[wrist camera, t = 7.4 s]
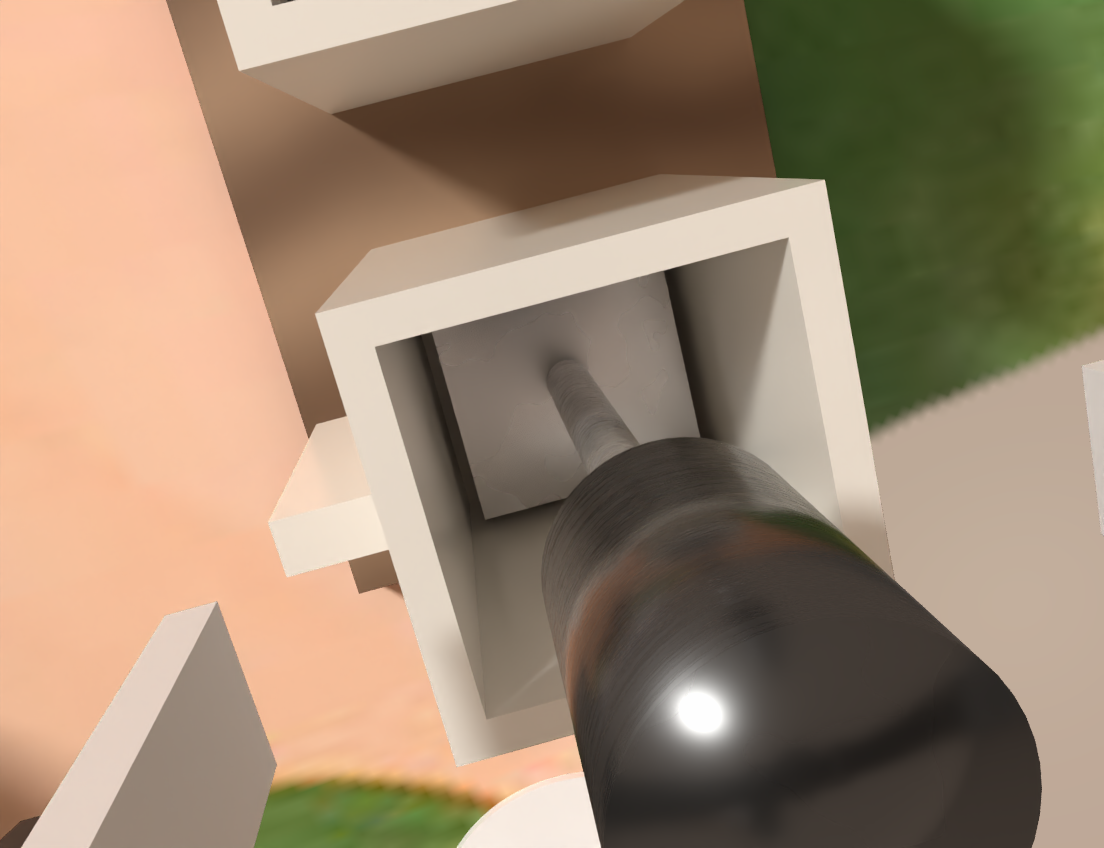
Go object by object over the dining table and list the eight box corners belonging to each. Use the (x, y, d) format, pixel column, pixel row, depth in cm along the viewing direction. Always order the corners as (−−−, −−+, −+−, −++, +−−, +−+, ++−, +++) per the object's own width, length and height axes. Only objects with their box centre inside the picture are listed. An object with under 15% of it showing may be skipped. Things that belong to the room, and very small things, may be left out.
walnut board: (814, 452, 36) (830, 464, 34) (362, 576, 35) (359, 593, 34) (657, -372, 29) (669, -400, 28) (100, -237, 28) (81, -259, 27)
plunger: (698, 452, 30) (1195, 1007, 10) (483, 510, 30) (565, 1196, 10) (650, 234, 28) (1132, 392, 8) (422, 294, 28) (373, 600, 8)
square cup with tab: (719, 450, 34) (905, 641, 20) (378, 543, 33) (334, 801, 20) (659, 174, 31) (825, 179, 18) (292, 269, 31) (175, 350, 17)
